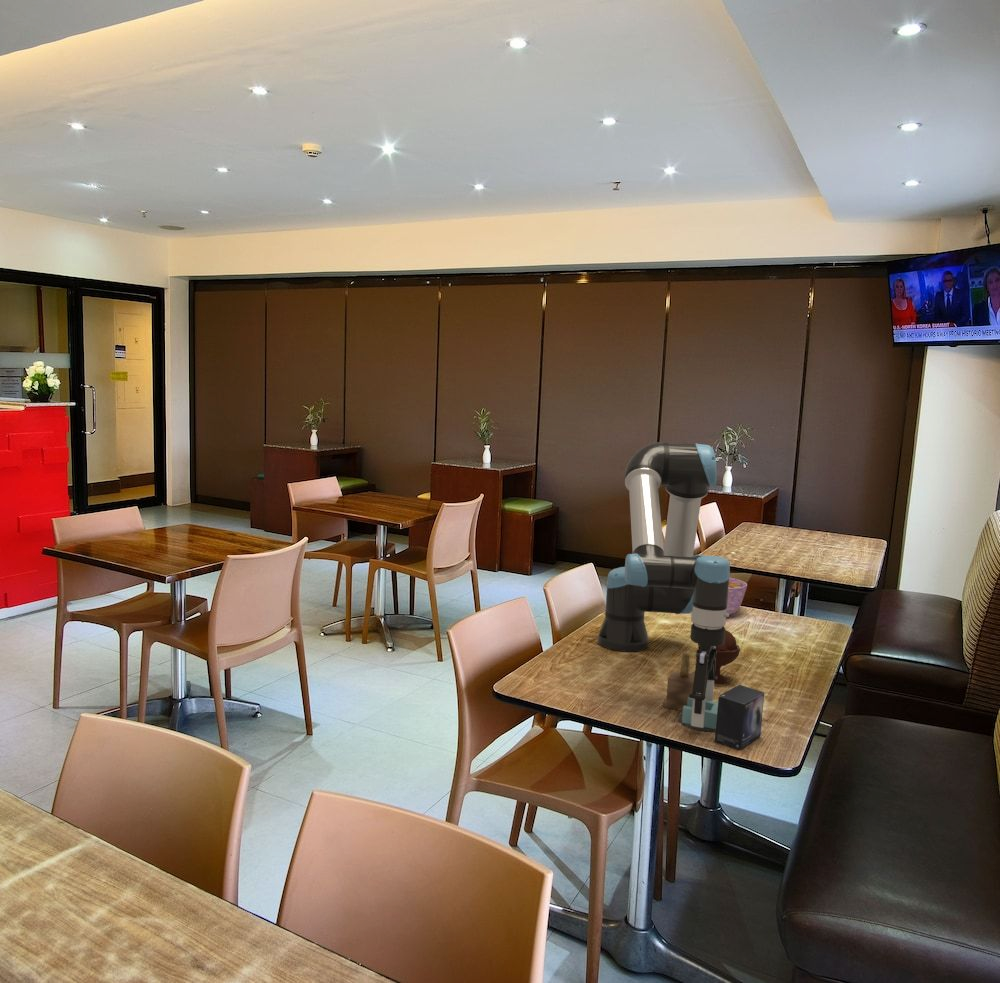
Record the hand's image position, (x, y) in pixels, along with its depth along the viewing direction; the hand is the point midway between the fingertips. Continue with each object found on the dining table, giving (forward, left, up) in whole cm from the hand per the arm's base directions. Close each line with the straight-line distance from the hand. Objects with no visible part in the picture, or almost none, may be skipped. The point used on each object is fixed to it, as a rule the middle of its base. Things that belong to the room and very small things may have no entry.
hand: (701, 716), depth 181 cm
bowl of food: (-11, +101, -2) cm, 102 cm away
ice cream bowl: (-1, +31, -2) cm, 31 cm away
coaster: (0, 0, -1) cm, 1 cm away
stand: (-6, +9, -1) cm, 11 cm away
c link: (0, 0, -1) cm, 1 cm away
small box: (+9, -5, -2) cm, 11 cm away
